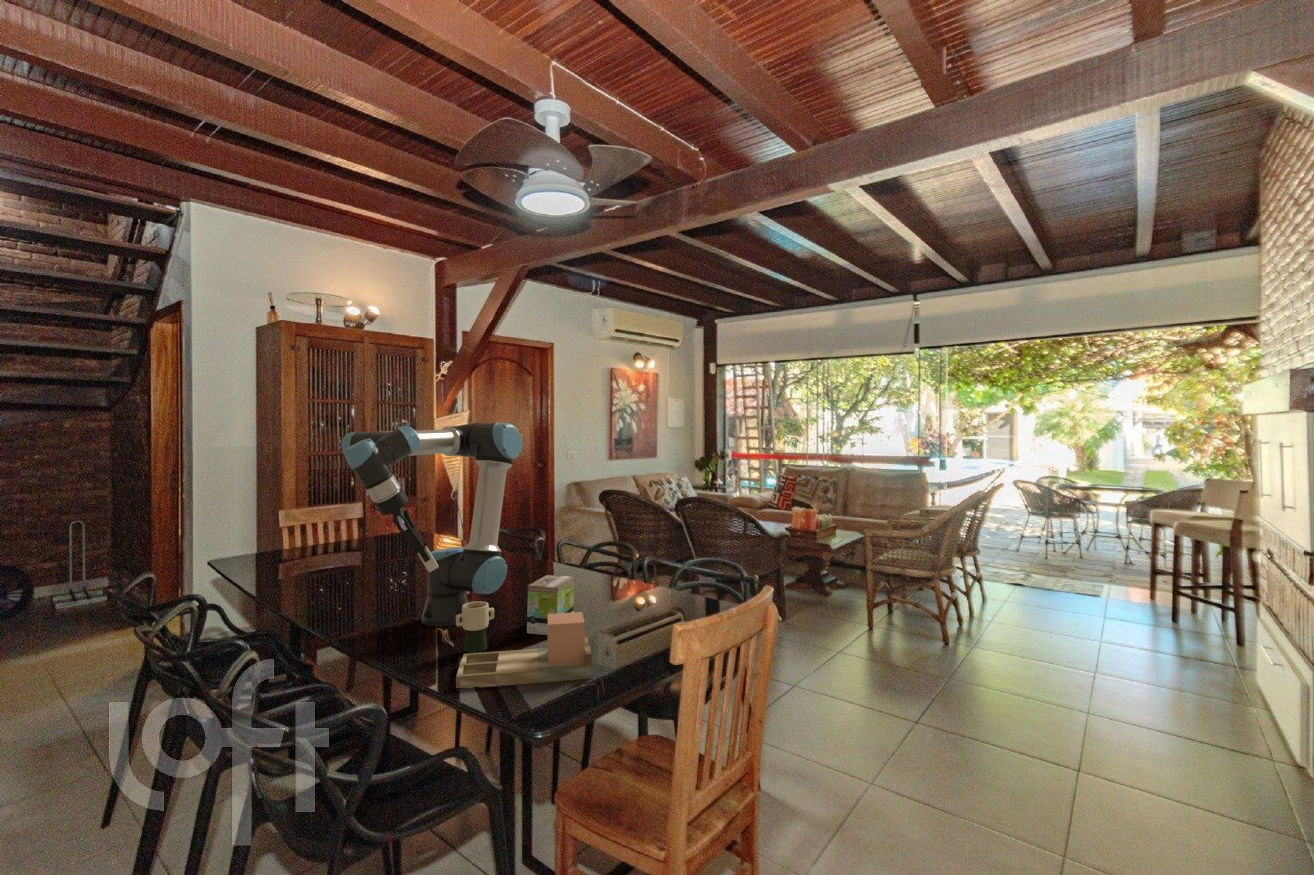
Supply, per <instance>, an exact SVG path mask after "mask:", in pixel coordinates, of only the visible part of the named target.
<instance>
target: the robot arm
mask: <svg viewBox="0 0 1314 875" xmlns="http://www.w3.org/2000/svg"><path fill="white" fill-rule="evenodd" d="M340 446H341V452H342V453H343V456H344V457H345V460H346V462H347V464H348V465H349V468H350V469H351V470H352V471H353V472H354V474H355V475H356V478H358V480H359V482H360V484H361V485H362V487H363V488H364V490H365V491H366V492H365V497H368V496H369V498H370V499H371V501H372V502H373V503H375V507H376V508H377V510H378V512H379V513H380V515H381V516H388V515H392V522H393V523H394V524H395V526H397V529H398V530H399V531H400V533H402V535H403V537H404V538H405V540H406V541H407V543H408V544H409V545H410V547H411V548H412V550H413V555H416V554H417V556H418V558H419V559H420V560H421V562H422V563H423V565H424V567H425V569H426V579H427V580H426V582H427V583H426V584H427V585H426V587H427V599H426V601H425V604H424V608H423V610H422V615H421V624H422V623H423V624H425V625H424V626H426V625H429V626H428V627H430V626H440V627H439V628H442V627H441V626H448V627H453V626H452V625H454V626H456V615H458V614H462V606H463V604H465V603H469V601H468V598H467V595H466V594H467V592H468V593H475V594H476V595H477V594H478V595H480V594H481V595H482V594H483V595H489V594H493V593H495V592H496V591H498V590H499V588H500V587H501V586H502V585H503V583H504V582H505V580H506V576H507V572H508V565H507V564H506V560H505V559H504V558H503V557H502V549H500V547H499V545H498V542H499V534H500V528H501V527H500V526H501V525H500V524H501V518H502V511H503V504H504V503H503V502H504V494H505V488H506V479H507V471H508V470H509V469H511V467H513V461H514V460H515V459H516V458H518V457H519V456H520V455H521V454H522V450H523V439H522V435H521V432H519V429H518V428H517V427H516V426H515V425H513V424H512V423H508V422H501V421H496V422H474V423H466V424H462V425H461V424H460V425H452V426H449V425H448V426H445V427H443V428H441V429H422V430H419V429H418V430H416V429H414V428H413V427H411V426H410V425H402V426H400V427H396V428H394V430H389V431H388V430H386V431H385V430H384V431H351V432H348V433H346V434H345V435H344V436H343V438H342V440H341V445H340ZM439 454H443V456H444V455H445V456H446V457H454V456H456V457H466V458H473V459H475V463H476V465H478V468H479V469H478V478H477V483H476V490H475V496H474V497H475V498H474V506H473V511H472V512H473V514H472V519H471V520H472V521H471V529H470V536H469V541H468V543H467V544H466V545H464V546H456V547H455V546H454V547H447V548H441V549H436V550H432V551H430V549H429V548H428V546H427V545H429V542H428V541H426V542H425V539H424V538H423V537H422V535H421V533H420V531H419V530H418V528H417V527H416V525H415V523H414V520H413V519H412V517H411V514H410V512H409V510H408V509H404V507H405V506H406V505H407V504H408V503H409V497H408V496H407V494H406V493H405V491H404V490H403V489H401V487H402V486H401V485H400V482H399V481H398V479H397V478H396V476H395V475H394V473H393V472H392V470H391V467H393V466H394V465H396V464H397V463H398V462H400V461H401V460H403V459H405V458H407V457H409V456H424V455H439ZM460 622H462V617H460ZM423 624H422V625H423Z"/></svg>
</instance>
